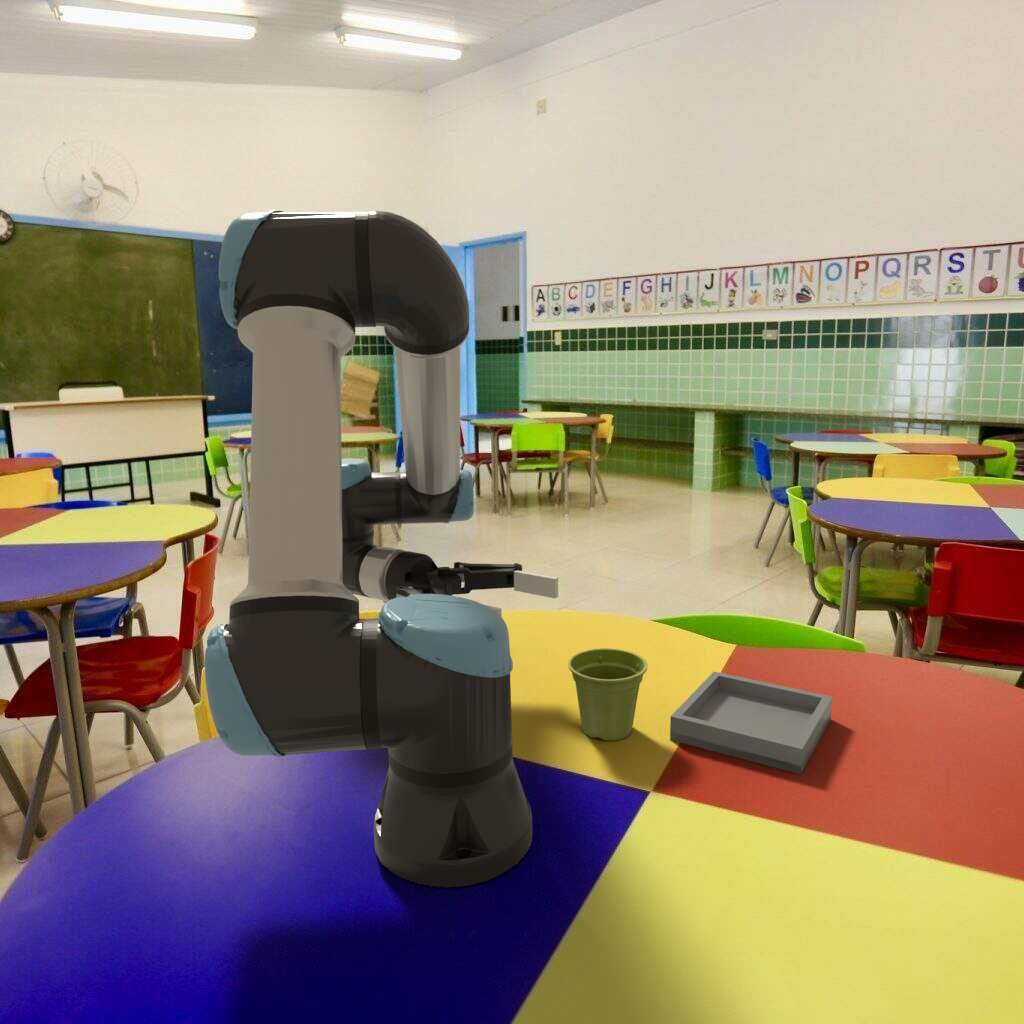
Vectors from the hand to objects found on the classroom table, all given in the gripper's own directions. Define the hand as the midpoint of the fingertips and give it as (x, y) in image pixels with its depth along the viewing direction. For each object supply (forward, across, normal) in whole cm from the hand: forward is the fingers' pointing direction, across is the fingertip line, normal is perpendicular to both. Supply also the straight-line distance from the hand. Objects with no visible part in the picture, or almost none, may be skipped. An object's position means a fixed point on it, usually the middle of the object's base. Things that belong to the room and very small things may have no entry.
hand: (530, 603), depth 101 cm
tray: (+26, -8, -14) cm, 31 cm away
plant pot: (+11, 0, -14) cm, 18 cm away
